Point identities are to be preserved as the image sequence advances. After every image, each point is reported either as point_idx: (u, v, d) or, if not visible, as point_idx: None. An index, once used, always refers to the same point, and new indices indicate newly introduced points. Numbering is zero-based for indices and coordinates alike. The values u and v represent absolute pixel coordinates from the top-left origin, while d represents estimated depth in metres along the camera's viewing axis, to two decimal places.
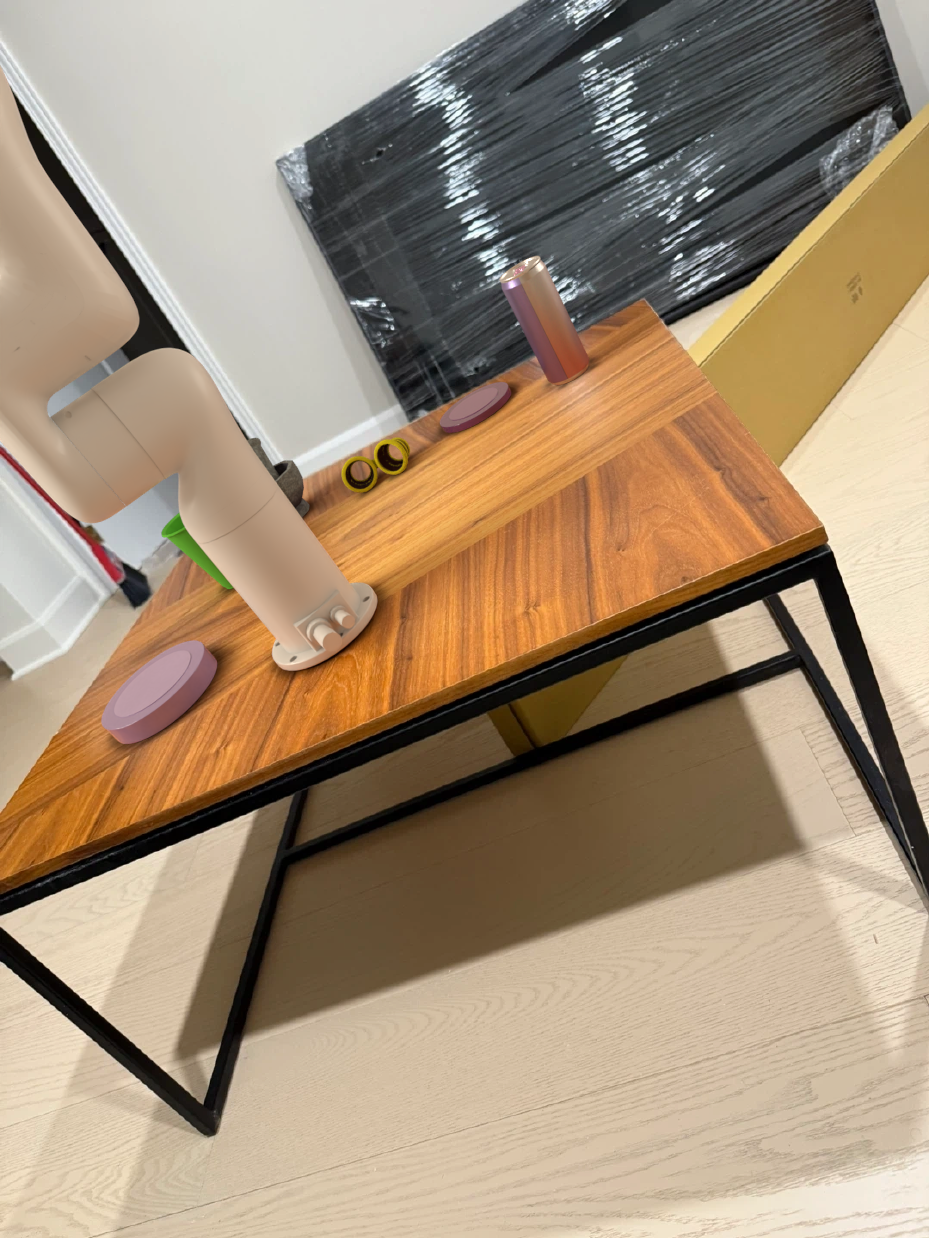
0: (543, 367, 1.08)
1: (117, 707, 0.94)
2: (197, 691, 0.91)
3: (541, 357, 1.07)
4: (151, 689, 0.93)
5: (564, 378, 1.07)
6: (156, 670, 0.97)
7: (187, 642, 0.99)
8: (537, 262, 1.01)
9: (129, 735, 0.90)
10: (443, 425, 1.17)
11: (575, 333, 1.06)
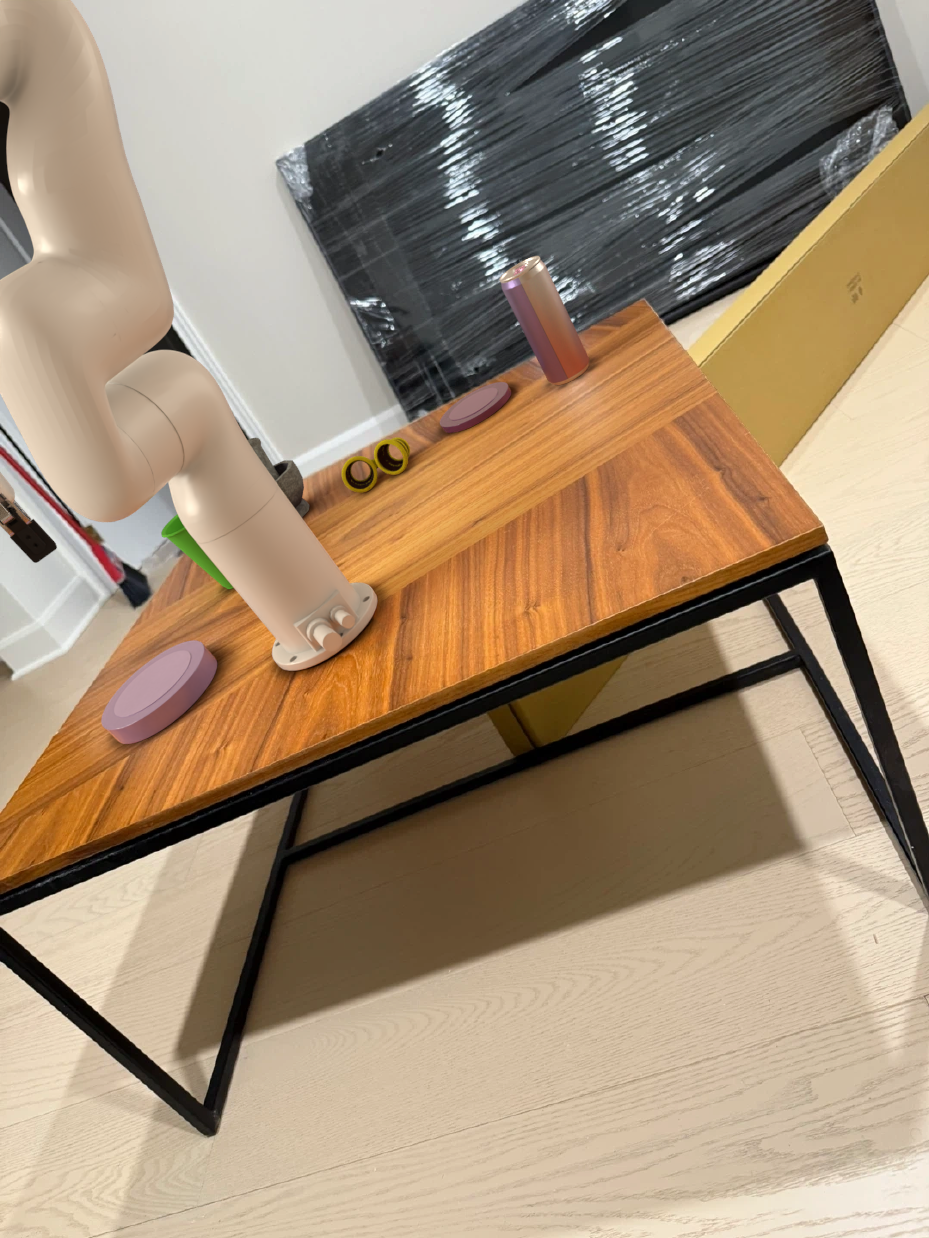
0: (543, 367, 1.08)
1: (117, 707, 0.94)
2: (197, 691, 0.91)
3: (541, 357, 1.07)
4: (151, 689, 0.93)
5: (564, 378, 1.07)
6: (156, 670, 0.97)
7: (187, 642, 0.99)
8: (537, 262, 1.01)
9: (129, 735, 0.90)
10: (443, 425, 1.17)
11: (575, 333, 1.06)
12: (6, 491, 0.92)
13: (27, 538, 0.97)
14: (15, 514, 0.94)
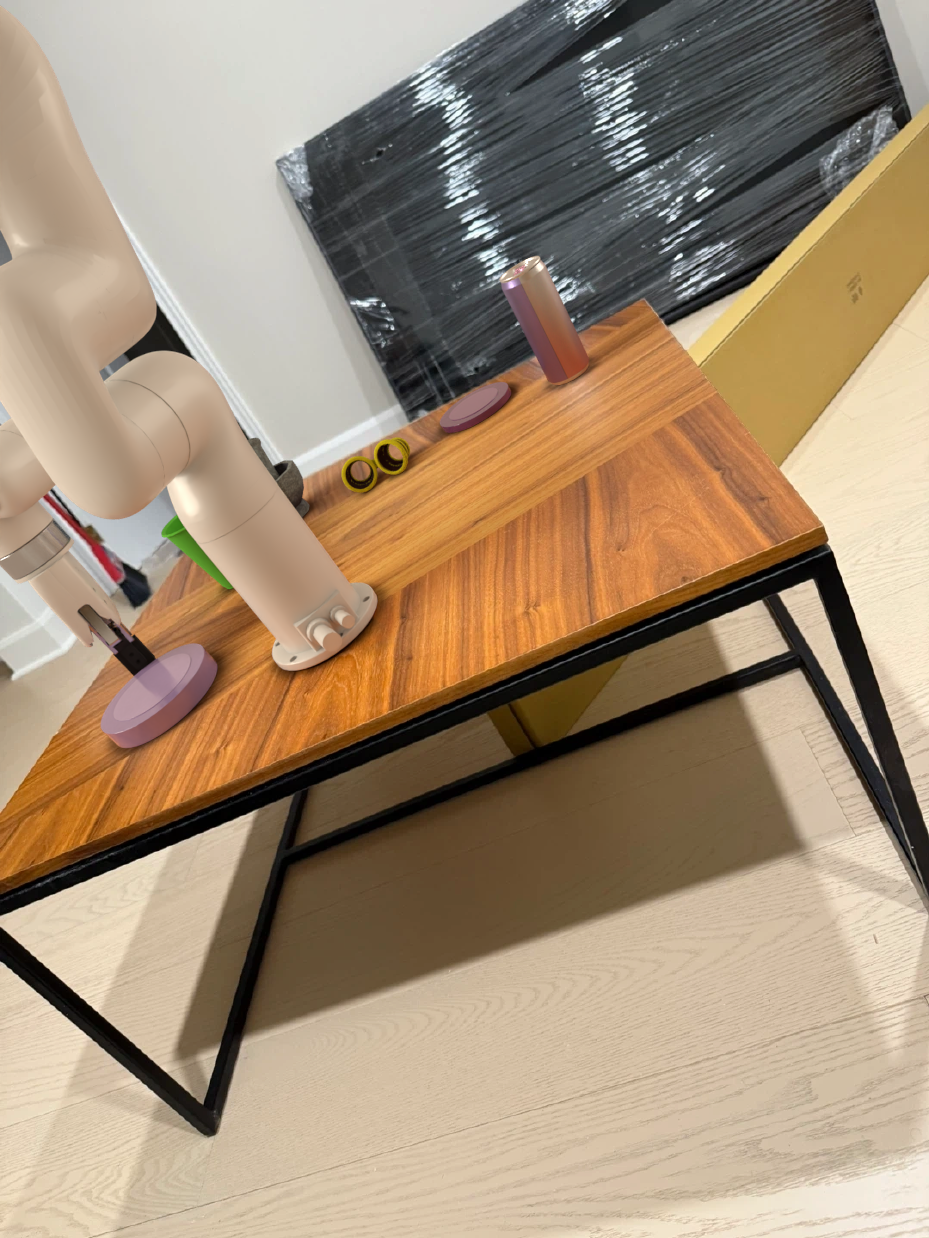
0: (543, 367, 1.08)
1: (117, 711, 0.93)
2: (197, 694, 0.91)
3: (541, 357, 1.07)
4: (151, 693, 0.93)
5: (564, 378, 1.07)
6: (156, 674, 0.96)
7: (187, 645, 0.98)
8: (537, 262, 1.01)
9: (129, 739, 0.89)
10: (443, 425, 1.17)
11: (575, 333, 1.06)
12: (114, 615, 0.94)
13: (130, 655, 0.99)
14: (121, 635, 0.96)
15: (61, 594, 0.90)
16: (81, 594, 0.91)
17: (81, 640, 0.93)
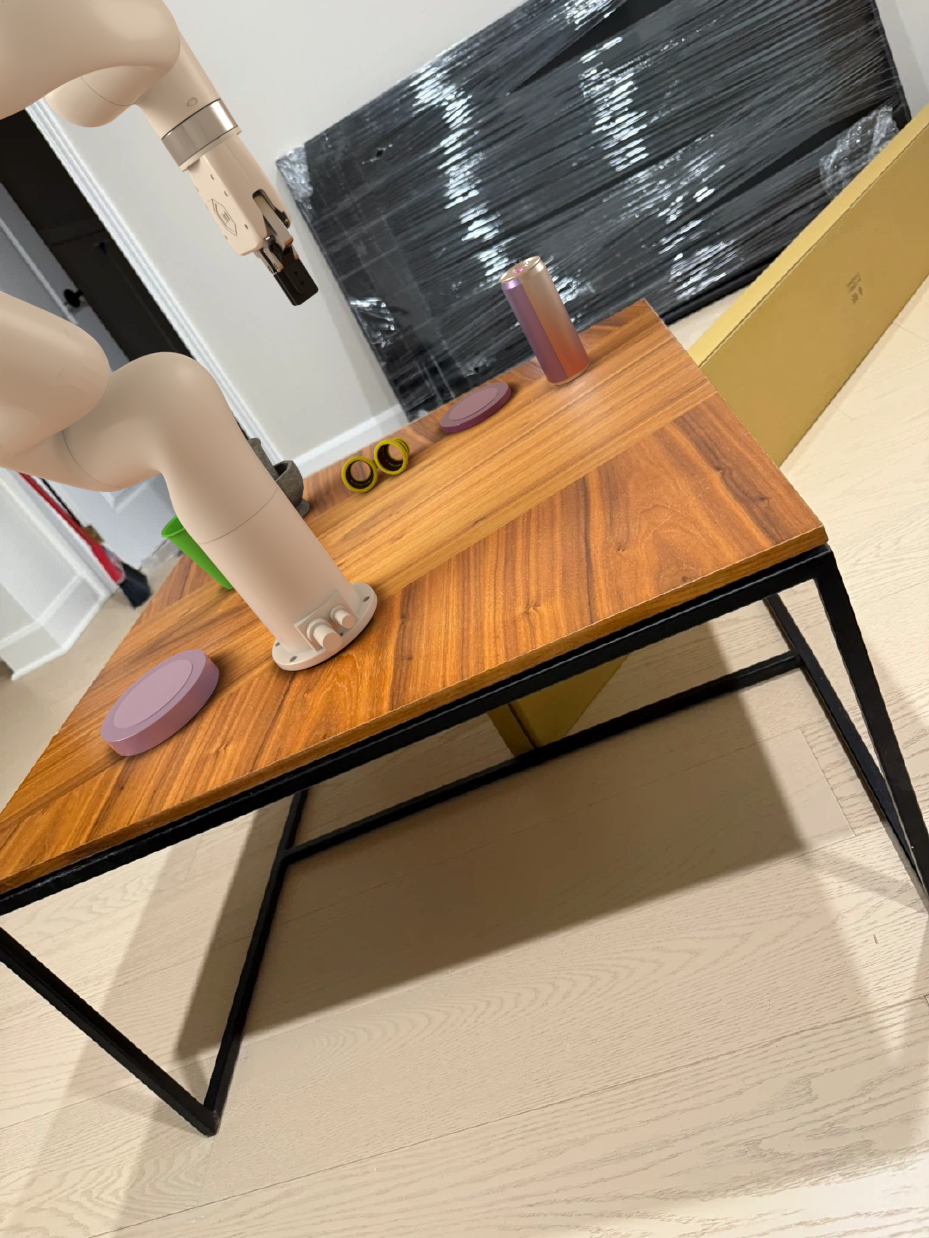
0: (543, 367, 1.08)
1: (117, 719, 0.92)
2: (199, 700, 0.89)
3: (541, 357, 1.07)
4: (152, 700, 0.91)
5: (564, 377, 1.07)
6: (156, 680, 0.95)
7: (187, 651, 0.97)
8: (537, 262, 1.01)
9: (130, 747, 0.88)
10: (443, 425, 1.17)
11: (575, 333, 1.06)
12: (287, 210, 0.88)
13: (294, 275, 0.93)
14: None
15: (236, 172, 0.84)
16: (256, 176, 0.85)
17: (254, 232, 0.87)
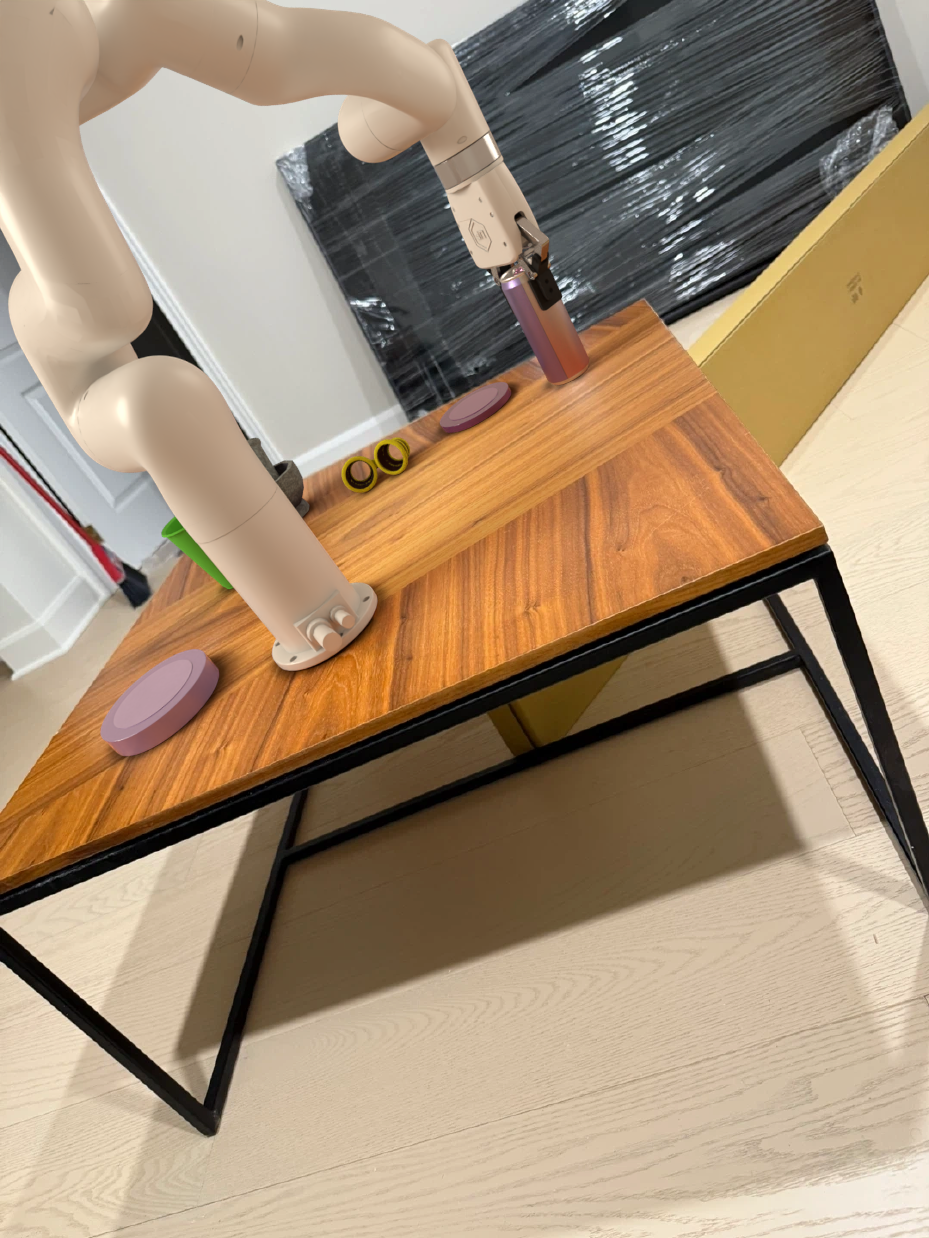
0: (543, 367, 1.08)
1: (117, 719, 0.92)
2: (199, 700, 0.89)
3: (541, 357, 1.07)
4: (152, 700, 0.91)
5: (564, 378, 1.07)
6: (156, 680, 0.95)
7: (187, 651, 0.97)
8: None
9: (130, 747, 0.88)
10: (443, 425, 1.17)
11: (575, 333, 1.06)
12: (539, 230, 0.98)
13: (545, 283, 1.00)
14: (547, 252, 0.97)
15: (503, 196, 0.94)
16: (518, 200, 0.95)
17: (512, 249, 0.97)
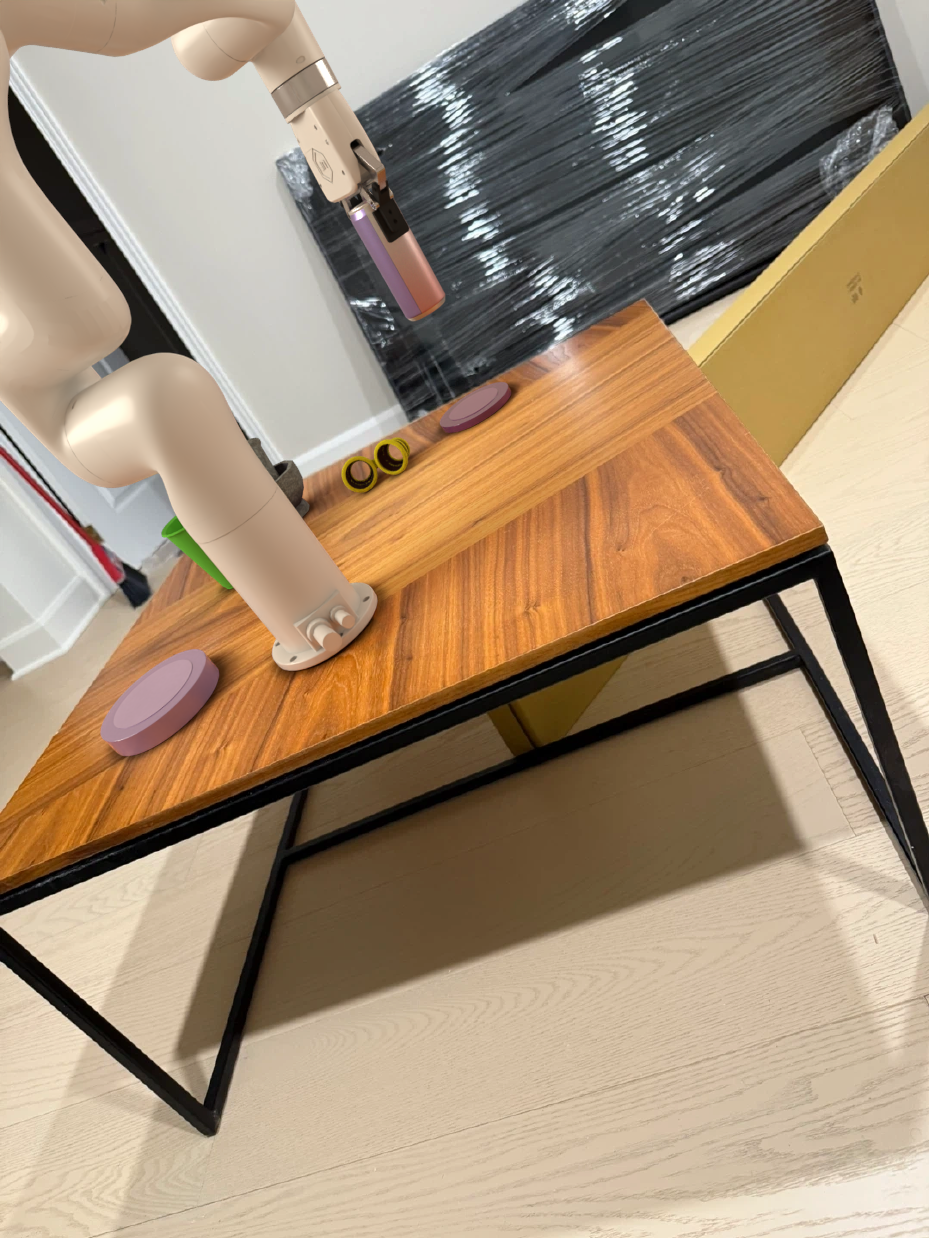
0: (398, 302, 1.09)
1: (117, 719, 0.92)
2: (199, 700, 0.89)
3: (395, 292, 1.07)
4: (152, 700, 0.91)
5: (418, 313, 1.08)
6: (156, 680, 0.95)
7: (187, 651, 0.97)
8: None
9: (130, 747, 0.88)
10: (443, 425, 1.17)
11: (427, 267, 1.07)
12: (379, 159, 0.98)
13: (388, 213, 1.01)
14: (387, 181, 0.98)
15: (337, 123, 0.95)
16: (354, 127, 0.96)
17: (350, 178, 0.97)
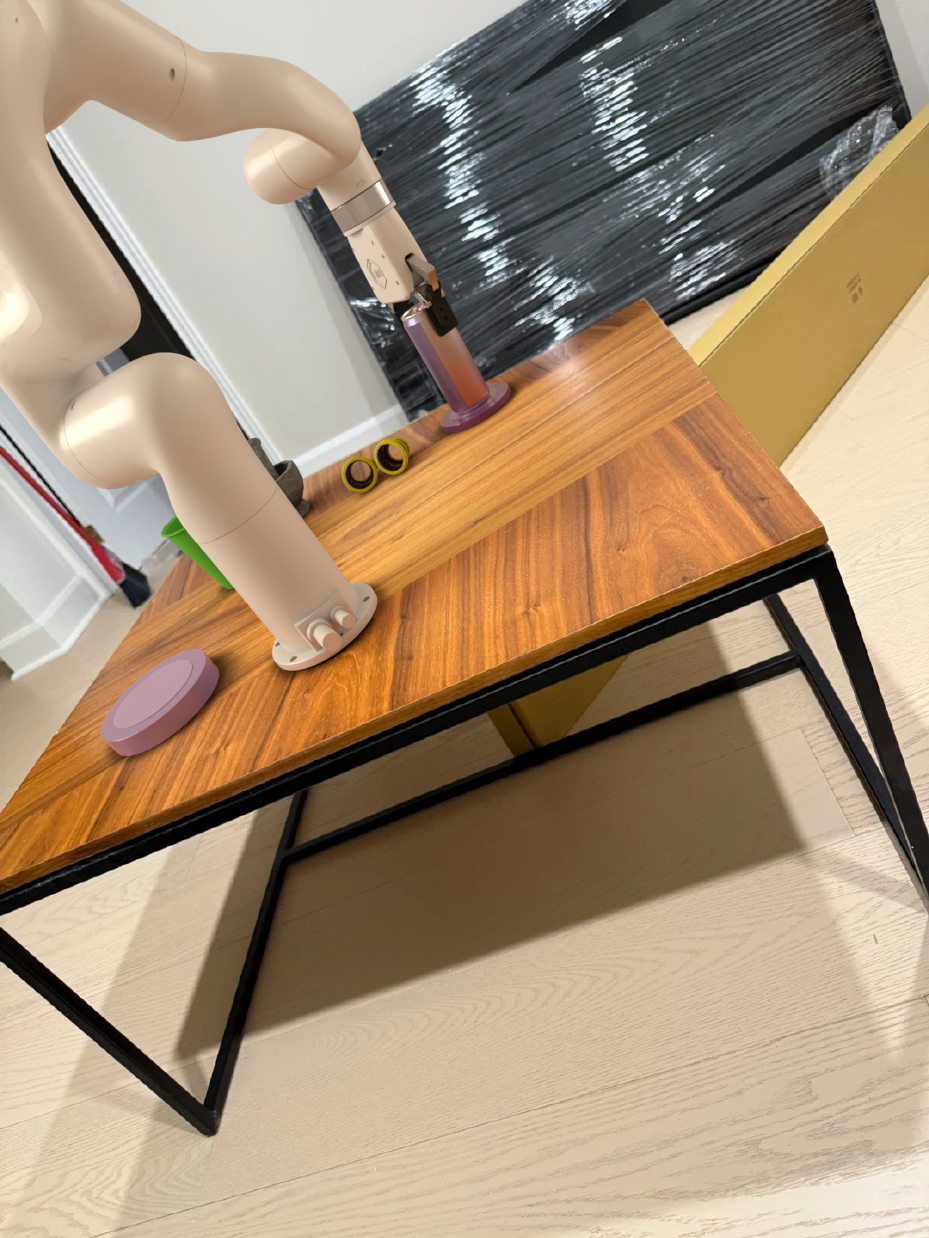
0: (446, 398, 1.16)
1: (117, 719, 0.92)
2: (199, 700, 0.89)
3: (443, 389, 1.15)
4: (152, 700, 0.91)
5: (465, 408, 1.15)
6: (156, 680, 0.95)
7: (187, 651, 0.97)
8: None
9: (130, 747, 0.88)
10: (443, 425, 1.17)
11: (474, 366, 1.14)
12: None
13: (439, 311, 1.06)
14: (439, 283, 1.03)
15: (393, 239, 1.02)
16: (408, 242, 1.03)
17: (404, 288, 1.04)
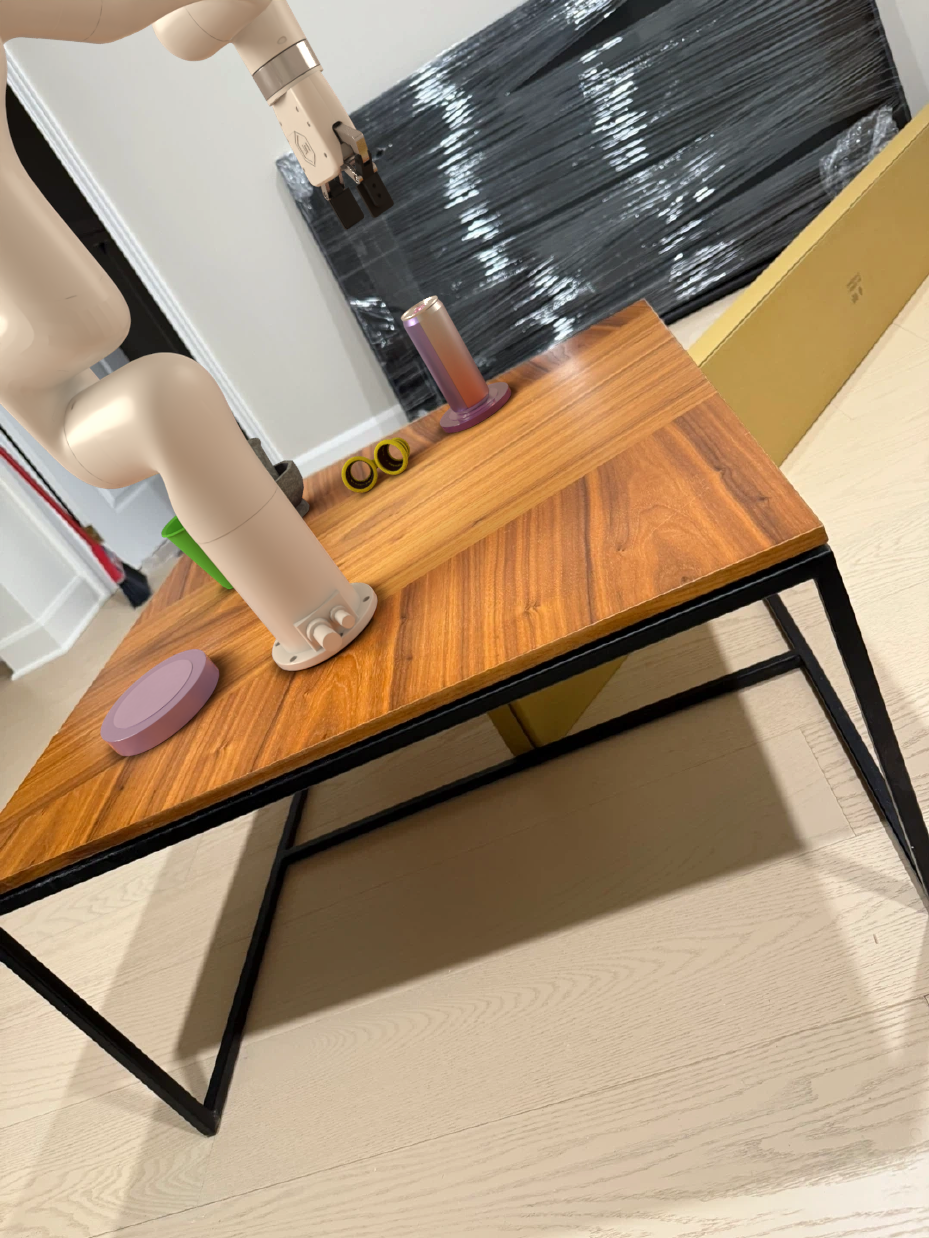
0: (446, 398, 1.16)
1: (117, 719, 0.92)
2: (199, 700, 0.89)
3: (443, 389, 1.15)
4: (152, 700, 0.91)
5: (465, 408, 1.15)
6: (156, 680, 0.95)
7: (187, 651, 0.97)
8: (434, 302, 1.09)
9: (130, 747, 0.88)
10: (443, 425, 1.17)
11: (474, 366, 1.14)
12: None
13: (372, 187, 0.98)
14: (370, 154, 0.96)
15: (319, 105, 0.94)
16: (336, 109, 0.95)
17: (332, 160, 0.96)
